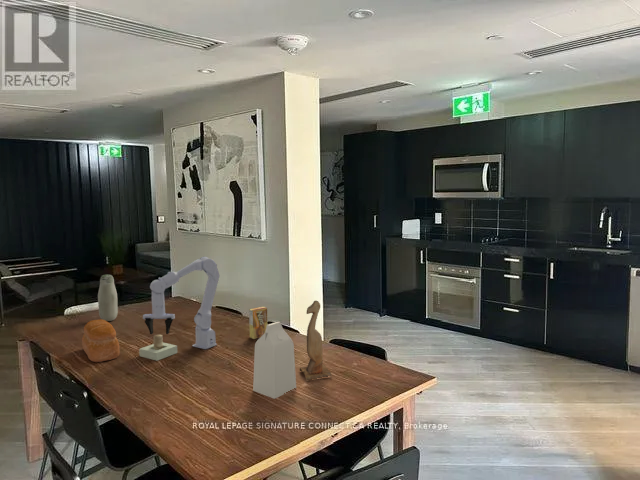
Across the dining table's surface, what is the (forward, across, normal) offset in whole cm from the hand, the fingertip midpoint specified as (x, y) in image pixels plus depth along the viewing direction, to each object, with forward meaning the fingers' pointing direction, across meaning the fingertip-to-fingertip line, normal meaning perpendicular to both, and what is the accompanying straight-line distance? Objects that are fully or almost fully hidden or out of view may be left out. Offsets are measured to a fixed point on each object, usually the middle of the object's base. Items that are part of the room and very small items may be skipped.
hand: (159, 333), depth 221 cm
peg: (+9, 0, +2) cm, 10 cm away
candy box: (+10, -43, -24) cm, 51 cm away
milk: (+10, -59, +42) cm, 73 cm away
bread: (+10, +28, +1) cm, 30 cm away
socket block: (+9, 0, +2) cm, 10 cm away
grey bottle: (+10, +51, -56) cm, 77 cm away
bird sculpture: (+10, -74, +28) cm, 80 cm away
